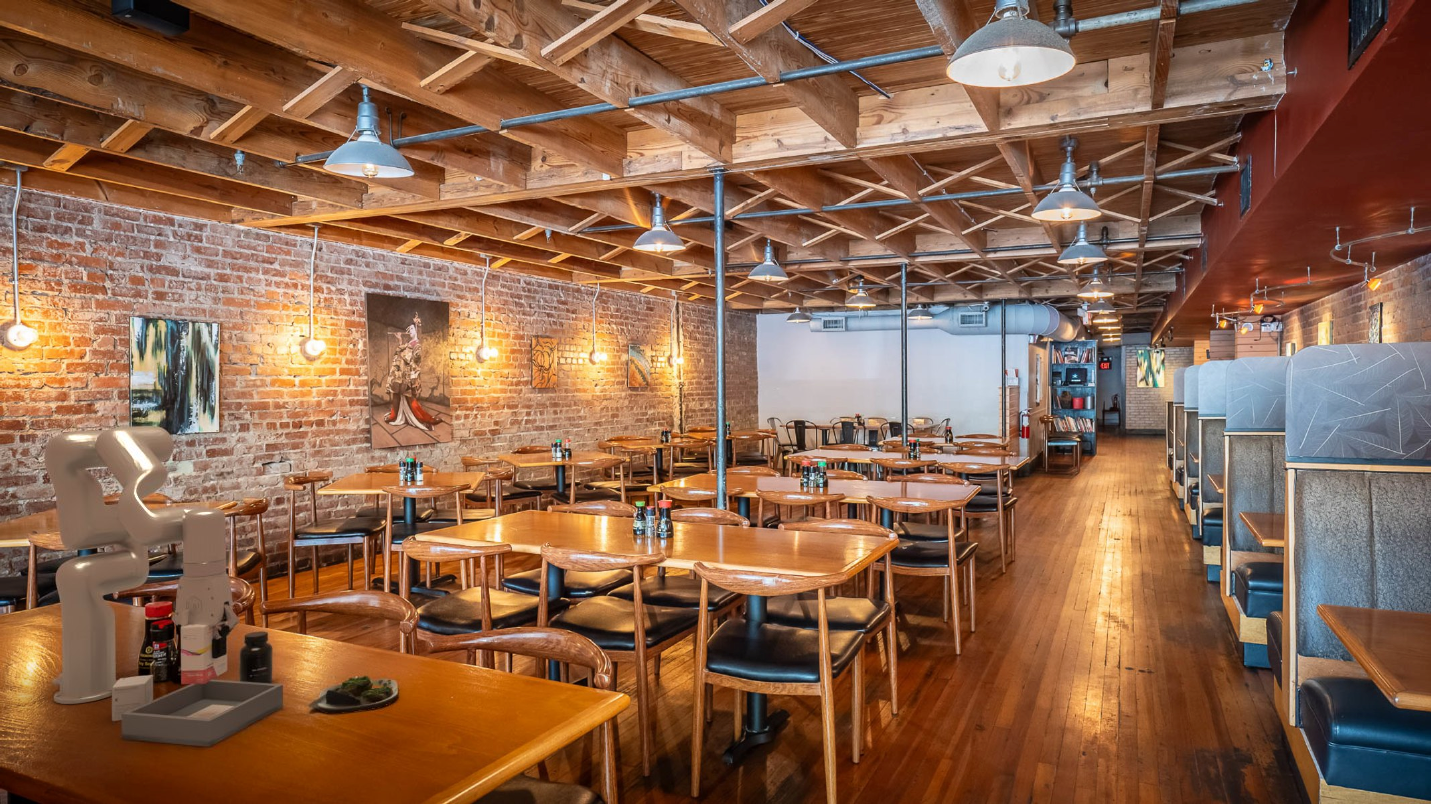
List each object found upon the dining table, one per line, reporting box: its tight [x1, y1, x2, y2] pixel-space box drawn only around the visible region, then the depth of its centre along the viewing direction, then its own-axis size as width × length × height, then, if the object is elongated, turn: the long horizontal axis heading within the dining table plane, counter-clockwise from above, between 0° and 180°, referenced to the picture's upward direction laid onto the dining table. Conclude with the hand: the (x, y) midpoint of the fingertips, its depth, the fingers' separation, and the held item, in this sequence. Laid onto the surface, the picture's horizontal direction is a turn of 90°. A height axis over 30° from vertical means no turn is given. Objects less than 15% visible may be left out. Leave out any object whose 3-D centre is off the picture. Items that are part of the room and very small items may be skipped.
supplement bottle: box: [238, 631, 274, 684], centre depth 189 cm, size 7×7×12 cm
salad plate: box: [308, 675, 399, 714], centre depth 182 cm, size 19×18×5 cm
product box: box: [111, 674, 154, 722], centre depth 172 cm, size 6×6×7 cm
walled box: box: [121, 679, 284, 748], centre depth 168 cm, size 20×20×5 cm
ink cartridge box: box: [180, 610, 228, 685], centre depth 167 cm, size 9×5×15 cm, turn 3°
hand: (206, 655), depth 167 cm, fingers closed on ink cartridge box, 5 cm apart
